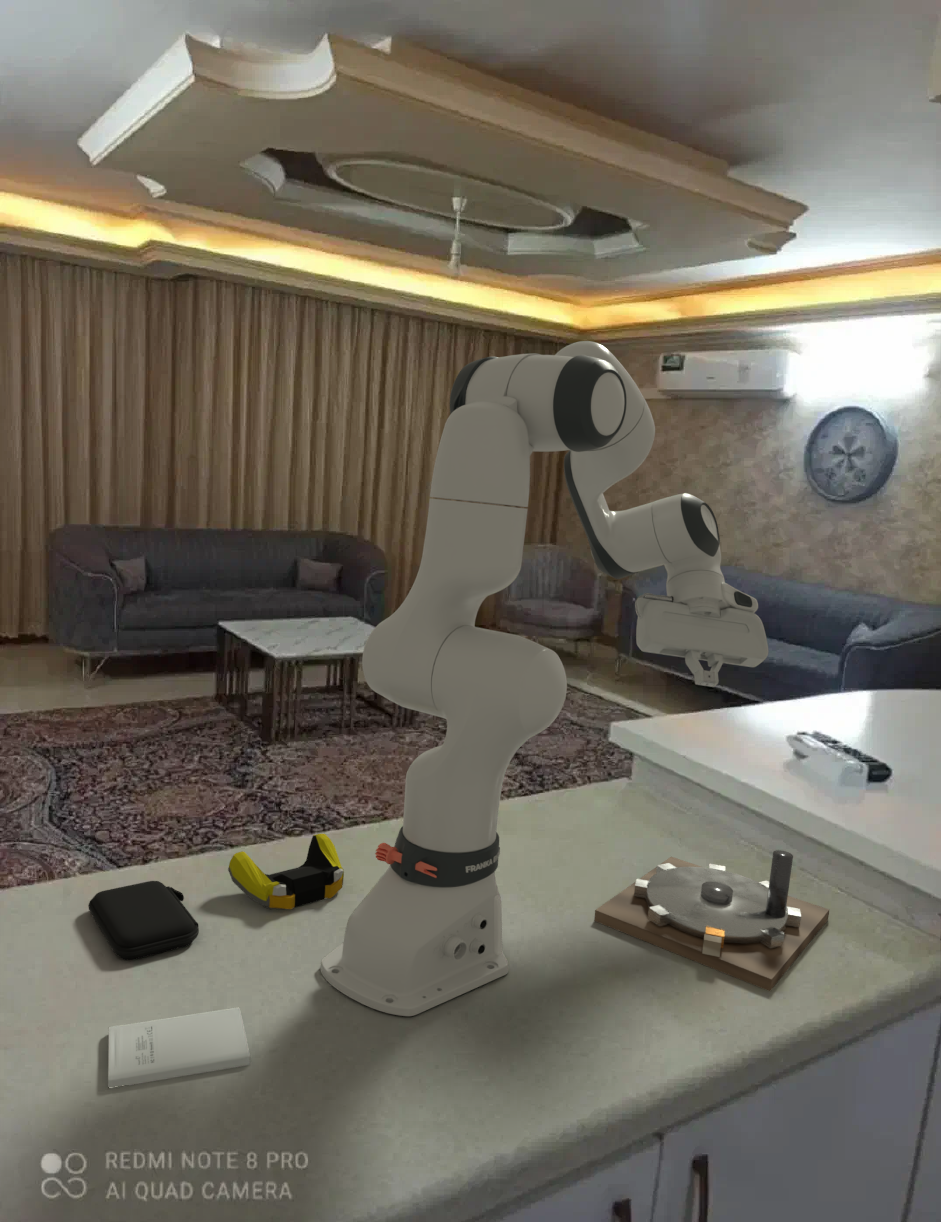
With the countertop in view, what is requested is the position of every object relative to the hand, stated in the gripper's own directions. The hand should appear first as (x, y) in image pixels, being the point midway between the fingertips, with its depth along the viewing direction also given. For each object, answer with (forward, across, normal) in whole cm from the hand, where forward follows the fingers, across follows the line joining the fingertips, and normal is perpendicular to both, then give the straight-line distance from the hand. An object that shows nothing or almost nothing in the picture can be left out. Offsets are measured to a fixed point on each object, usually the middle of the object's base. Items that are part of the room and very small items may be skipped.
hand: (707, 684), depth 132 cm
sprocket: (+31, -1, +3) cm, 31 cm away
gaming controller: (+30, -55, +17) cm, 65 cm away
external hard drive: (+51, -66, -7) cm, 84 cm away
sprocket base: (+32, -1, +4) cm, 33 cm away
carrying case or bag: (+37, -72, +12) cm, 82 cm away
